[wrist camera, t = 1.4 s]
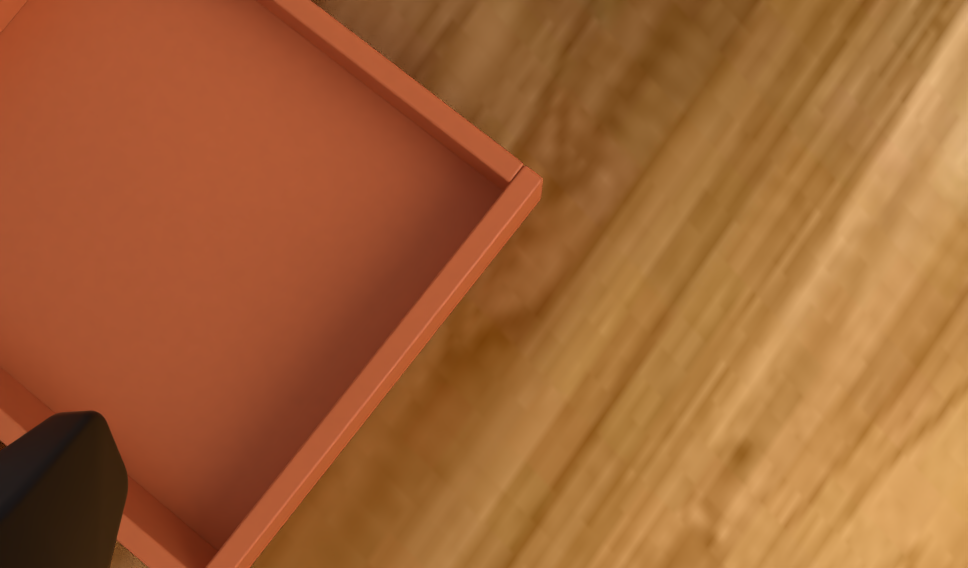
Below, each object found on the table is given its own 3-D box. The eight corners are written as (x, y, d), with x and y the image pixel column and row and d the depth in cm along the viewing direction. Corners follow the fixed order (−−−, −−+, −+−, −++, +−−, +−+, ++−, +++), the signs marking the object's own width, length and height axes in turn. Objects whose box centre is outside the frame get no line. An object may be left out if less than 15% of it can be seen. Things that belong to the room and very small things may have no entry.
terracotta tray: (542, 197, 23) (543, 178, 21) (237, 584, 23) (200, 613, 20) (124, -124, 25) (77, -179, 22) (-172, 236, 24) (-256, 222, 22)
